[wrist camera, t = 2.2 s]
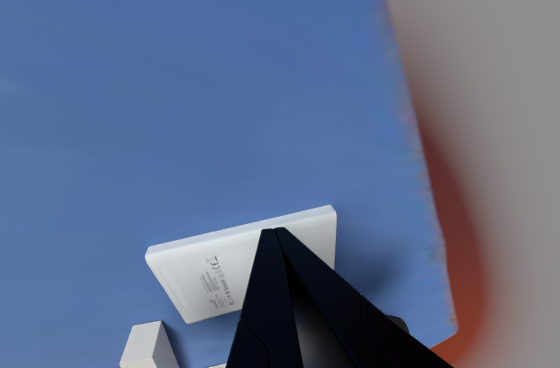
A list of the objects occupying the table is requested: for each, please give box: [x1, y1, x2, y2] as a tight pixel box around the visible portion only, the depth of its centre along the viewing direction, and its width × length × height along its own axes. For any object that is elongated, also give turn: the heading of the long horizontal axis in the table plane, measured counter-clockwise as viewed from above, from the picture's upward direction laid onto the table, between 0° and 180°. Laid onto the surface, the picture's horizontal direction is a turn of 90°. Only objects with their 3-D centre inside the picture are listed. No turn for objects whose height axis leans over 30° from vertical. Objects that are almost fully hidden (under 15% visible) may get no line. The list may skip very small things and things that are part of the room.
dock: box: [119, 320, 227, 368], centre depth 20 cm, size 12×19×2 cm, turn 86°
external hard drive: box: [145, 205, 337, 324], centre depth 16 cm, size 2×8×12 cm
